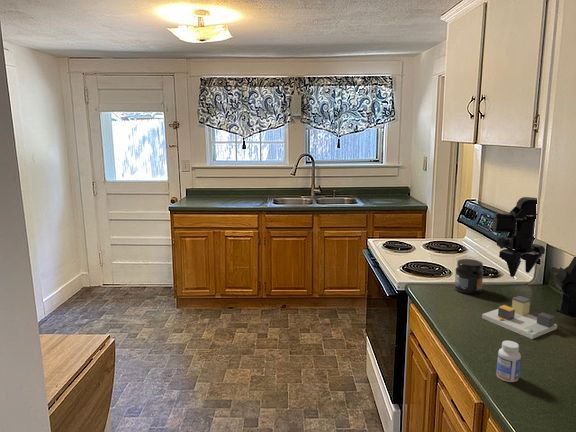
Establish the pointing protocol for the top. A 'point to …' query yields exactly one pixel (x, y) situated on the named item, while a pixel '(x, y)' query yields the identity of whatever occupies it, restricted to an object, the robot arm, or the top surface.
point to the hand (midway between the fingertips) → (519, 274)
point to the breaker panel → (519, 324)
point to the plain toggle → (545, 319)
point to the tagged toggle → (506, 312)
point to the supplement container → (469, 276)
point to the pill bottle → (508, 362)
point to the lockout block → (521, 305)
